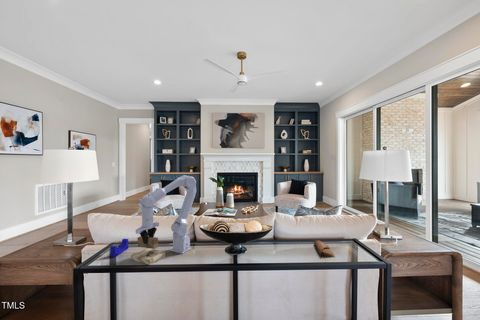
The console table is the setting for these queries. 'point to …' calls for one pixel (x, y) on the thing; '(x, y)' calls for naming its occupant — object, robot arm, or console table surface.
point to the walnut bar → (148, 242)
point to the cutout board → (149, 260)
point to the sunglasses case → (323, 249)
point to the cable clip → (119, 248)
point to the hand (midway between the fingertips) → (148, 242)
